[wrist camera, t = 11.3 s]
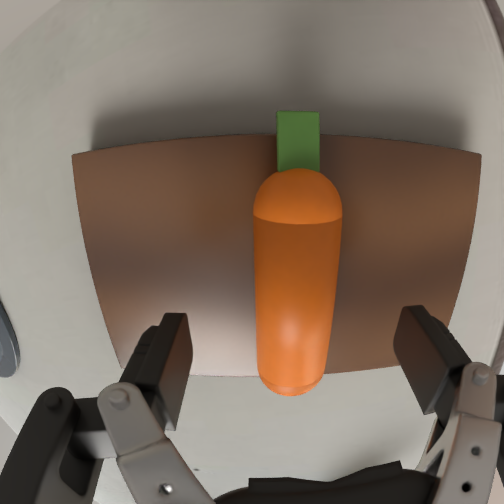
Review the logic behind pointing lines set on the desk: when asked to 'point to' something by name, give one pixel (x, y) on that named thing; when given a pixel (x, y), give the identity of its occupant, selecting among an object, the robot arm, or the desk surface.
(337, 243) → the carrot
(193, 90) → the desk surface
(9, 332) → the slate plate
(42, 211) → the desk surface
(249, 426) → the desk surface
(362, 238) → the cutting board
